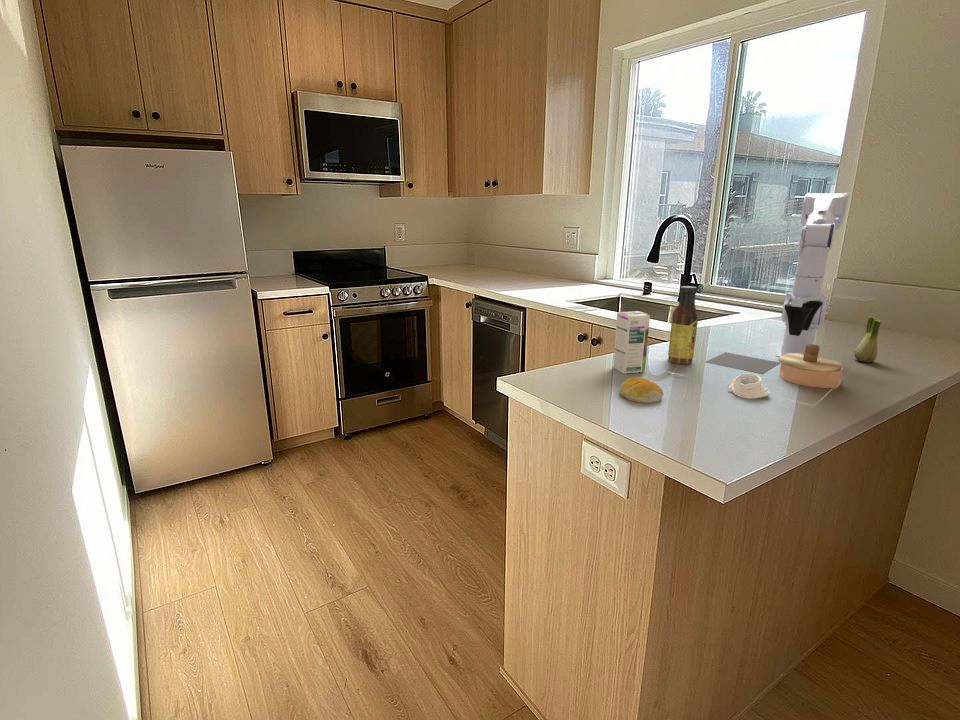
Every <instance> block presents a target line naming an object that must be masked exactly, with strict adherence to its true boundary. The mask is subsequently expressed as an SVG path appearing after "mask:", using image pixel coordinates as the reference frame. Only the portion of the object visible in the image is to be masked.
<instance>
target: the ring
mask: <svg viewBox="0 0 960 720" xmlns="http://www.w3.org/2000/svg"><path fill="white" fill-rule="evenodd" d="M843 374H844V368H843V366H842V367H841V370H839V371H835V372H818V371H809V370H803V369H798V368H794V367H790V366H787V365H785V364H783V363H781V362H780V368H779V376H780V377H781V379H783V380H785V381H787V382H790V383H792V384H796V385H801V386H805V387H809V388H822V389H823V388H825V389H830V388H831V389H838V388H839V387H840V386H841V382H842V380H843V379H842V378H843ZM831 389H830V390H831Z"/></svg>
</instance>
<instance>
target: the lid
mask: <svg viewBox="0 0 960 720" xmlns="http://www.w3.org/2000/svg"><path fill="white" fill-rule="evenodd" d="M820 348H821V347H820V345H817V344H815V345H813V344H806V347H805V352H804V354H799V353H788V354H782V355H780V356H779V357H778V362H780V364H781V363H783V364H785V365H787V366H790V367H794V368H798V369H803V370H809V371H818V372H835V371H839V370H841V367H842V368H843V365H842V363H841V362H840V361H838V360H835V359H832V358H831V357H829V358H828V357H826V356H825V357H824V356H822V355H819V352H820Z"/></svg>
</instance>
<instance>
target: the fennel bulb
mask: <svg viewBox="0 0 960 720" xmlns="http://www.w3.org/2000/svg"><path fill="white" fill-rule="evenodd" d="M881 322H882V321H881V320H880V319H878V318H875V317H874V316H868V318H867V323H866V327H865V331H864V335H863V337H862V338H861V340H860V343H859V344H858V345H857V346H856V348H855V350H854V355H853V356H854V358H855V359H856V360H857V361H859V362H865V363H872V362H875V360H876V359H877V356H878V334H879V330H880V326H881V324H882V323H881Z"/></svg>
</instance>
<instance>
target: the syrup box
mask: <svg viewBox="0 0 960 720" xmlns="http://www.w3.org/2000/svg"><path fill="white" fill-rule="evenodd" d="M650 319H651V316H650V314H649V313H646V312H643V311H638V310H635V311H618V312H616V324H615V325H616V326H615V335H614V336H615V340H614V350H613V351H614V352H613V363H612V367H613V369H614V370H616V369H617V371H618V370H619V371H618V372H620V373H622V374H624V375H627V374H637V373H639V372H640V373H645V371H646V361H647V351H648V341H649V330H650Z"/></svg>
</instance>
